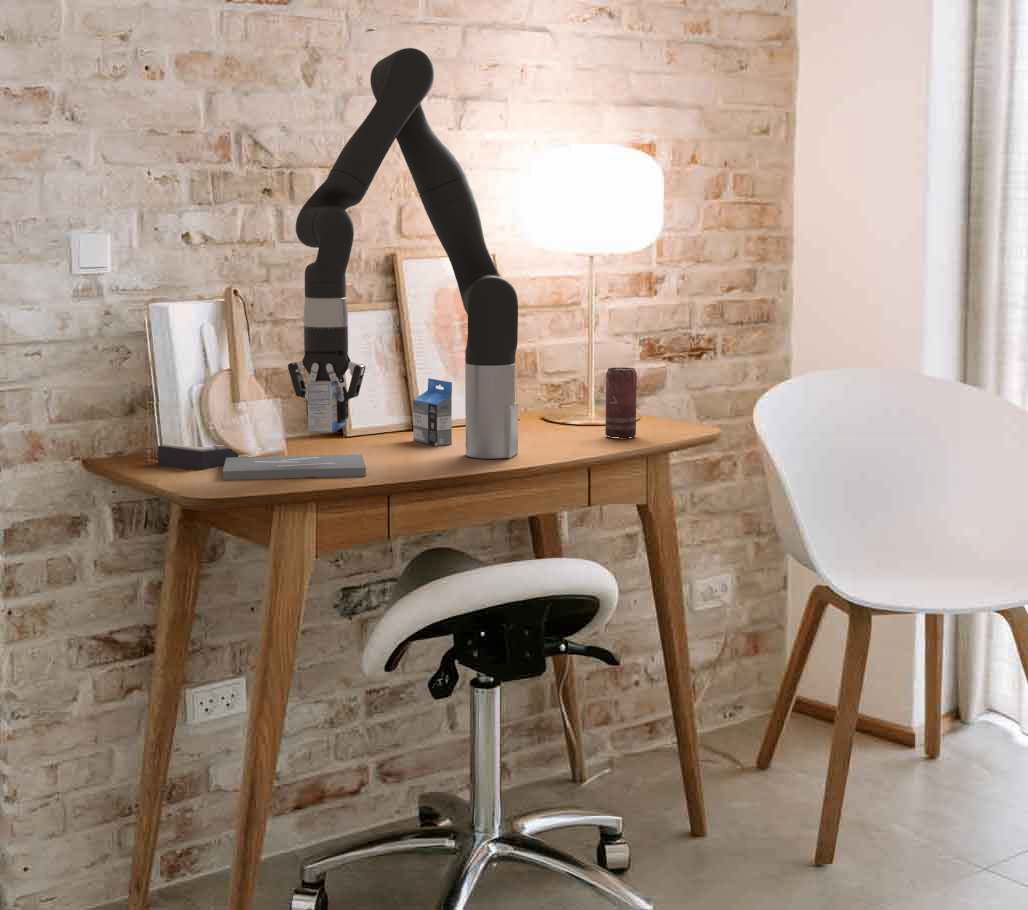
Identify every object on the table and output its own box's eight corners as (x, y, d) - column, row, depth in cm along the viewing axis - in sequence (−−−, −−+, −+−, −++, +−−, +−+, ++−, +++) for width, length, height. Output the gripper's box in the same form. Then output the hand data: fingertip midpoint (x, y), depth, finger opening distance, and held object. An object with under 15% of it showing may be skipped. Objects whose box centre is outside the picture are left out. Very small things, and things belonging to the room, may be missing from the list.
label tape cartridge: (412, 440, 273) (411, 379, 271) (428, 439, 275) (428, 378, 273) (436, 446, 266) (436, 383, 264) (453, 444, 268) (452, 382, 266)
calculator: (260, 440, 252) (200, 447, 239) (260, 464, 252) (200, 471, 240) (217, 435, 258) (156, 441, 245) (217, 458, 258) (156, 465, 246)
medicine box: (332, 433, 235) (331, 382, 233) (307, 432, 236) (306, 381, 234) (347, 426, 243) (346, 377, 241) (323, 425, 243) (322, 377, 242)
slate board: (361, 462, 248) (361, 454, 248) (366, 476, 234) (365, 467, 234) (226, 465, 244) (226, 457, 244) (222, 480, 231) (222, 471, 230)
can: (628, 440, 273) (629, 370, 271) (600, 437, 277) (601, 368, 274) (642, 436, 278) (643, 367, 276) (614, 433, 282) (615, 366, 279)
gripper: (372, 323, 238) (373, 420, 241) (295, 321, 241) (297, 417, 244) (357, 326, 231) (358, 426, 234) (278, 324, 234) (280, 423, 237)
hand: (327, 421), depth 239 cm, fingers closed on medicine box, 4 cm apart
